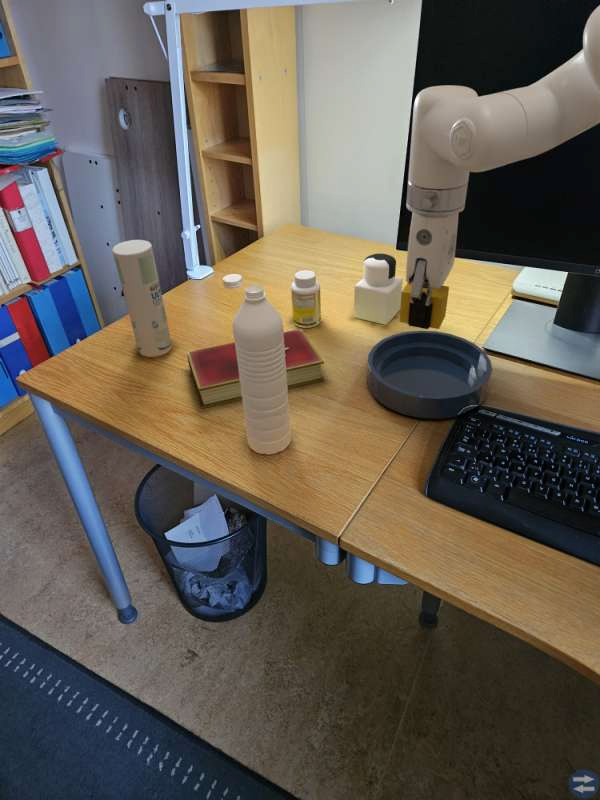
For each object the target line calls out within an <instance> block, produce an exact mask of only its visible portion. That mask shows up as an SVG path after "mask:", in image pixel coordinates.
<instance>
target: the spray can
mask: <svg viewBox="0 0 600 800" xmlns="http://www.w3.org/2000/svg"><path fill="white" fill-rule="evenodd" d="M111 249H112V250H111V251H112V256H113V259H114V263H115V267H116V270H117V271H116V272H117V274H118V278H119V282H120V286H121V290H122V293H123V297H124V301H125V304H126V309H127V312H128V316H129V319H130V323H131V328H132V332H133V335H134V339H135V343H136V346H137V350H138V352H139V354H140V355H141V356H143V357H146V358H156V357H161V356H163V355H165V354H168V352H170V351H171V350H172V346H173V343H172V339H171V338H172V337H171V334H170V329H169V324H168V319H167V313H166V310H165V305H164V299H163V294H162V289H161V284H160V280H159V275H158V270H157V265H156V260H155V255H154V250H153V245H152V243H151V242H150V241H148V240H145V239H131V240H125V241H122V242H119V243H118V244H116V245H114V246H113V248H111Z"/></svg>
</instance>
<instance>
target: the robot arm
mask: <svg viewBox="0 0 600 800" xmlns="http://www.w3.org/2000/svg"><path fill="white" fill-rule="evenodd" d="M582 33H583V34H582V49H581V50H580V51H579V52H578V53H576V54H575V55H574V56H572V58H570V59H569V60H567V61H566V62H565V63H564V62H563V64H562V65H560V66H558V67H557V68H556V69H554V70H552V71H551V72H550V73H548V74H547V75H545V76H543V77H542V78H540V79H539V80H537V81H536V82H534V83H532V84H530V85H528V86H523V87H518V88H512V89H508V90H504V91H499V92H495V93H490V94H486V95H481V96H479V95H478V93H477V92H476V90H474V89H473V88H471V87H468V86H464V85H453V84H452V85H449V84H447V85H435V86H429V87H426V88H424V89H422V90H420V91H419V92H418V93H417V95H416V97H415V99H414V103H413V109H412V110H413V111H412V125H411V126H412V127H411V137H410V151H409V165H408V177H407V178H408V179H407V191H406V202H405V203H406V204H405V207H406V209H407V210H408V211H409V212H411V213H412V214H411V220H410V227H409V235H408V243H407V254H406V265H405V282H406V284H407V283H408V284H409V285H410V284H411V283H412V282H413V283H412V289H411V294H410V306H409V317H408V323H407V325H408V326H409V327H412V328H417V329H418V328H419V329H424V330H429V329H430V324H431V316H432V307H433V303H431V298H432V291H433V287H435V289H439V288H440V287H441V286H444V284H445V282H446V280H447V279H448V276H449V275H450V273H451V271H452V268H453V267H454V265H455V259H456V248H457V237H458V226H459V213H462V212H463V211H464V210H465V207H466V200H467V192H468V185H469V179H470V178H469V177H470V173H482V172H486V171H490V170H494V169H497V168H500V167H504V166H506V165H509V164H513V163H516V162H518V161H519V162H520V161H522V160H526V159H530V158H534V157H536V156H539V155H542V154H544V153H546V152H548V151H550V150H552V149H554V148H555V147H558V146H559V145H562V144H564V143H565V142H567V141H569V140H571V139H572V138H574V137H577V136H578V135H580V134H582V133H584V132H586V131H587V130H589V129H591V128H593V127H595V126H597V125H598V124H600V5H598V6H596V8H595V9H594V10H593V11H592V12H591V14H590V15H589V17H588V19H587V20H586V23H585V26H584V29H583V32H582ZM423 288H427V295H426V292H423V290H422V289H423Z"/></svg>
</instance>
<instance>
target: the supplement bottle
mask: <svg viewBox="0 0 600 800" xmlns="http://www.w3.org/2000/svg"><path fill="white" fill-rule="evenodd" d="M316 276H317V275H316V272H314V271H312V270H309V269H308V270H307V269H305V270H299V271H296V272H295V273H294V281H293V282H292V284H291V285H290V290H291V291H290V292H291V293H290V294H291V306H292V307H291V309H292V321H293V323H294V325H295V326H296V327H299V328H301V329H302V328H303V329H309V328H314V327H316V326H318V325H319V324H320V323H321V321H322V309H321V308H322V306H321V304H322V303H321V301H322V300H321V284H320V283H319V281H317V277H316Z"/></svg>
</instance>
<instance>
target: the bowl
mask: <svg viewBox="0 0 600 800" xmlns="http://www.w3.org/2000/svg"><path fill="white" fill-rule="evenodd" d="M366 364H367V365H366V366H367V367H366V385H367V387H368V390H369V392H370V393H371V394H372V396H373V397H374V398H375V399H376V401H378V402H380V403H381V404H382V405H384V407H386V408H388V409H389V410H393V411H395V412H397V413H398V414H399V413H400V414H402V415H406V416H410V417H414V418H419V419H433V420H439V419H440V420H441V419H448V418H449V419H450V418H451V419H452V418H455V417H458V413H459V412H460V411H461V410H462V409H463V408H465V407H467V406H470V405H479V406H480V405H481V404H482V403H483V402H484V401H485V400H486V399H487V395H488V392H489V388H490V384H491V379H492V375H493V365H492V361H491V359H490V357H489V356H488V354H487V353H486V352H485V351H484V350H483V349H482V348H481V347H480V346H478V345H477V344H475V343H474V342H472V341H470V340H468V339H466V338H464V337H461V336H458V335H455V334H452V333H448V332H443V331H436V330H411V331H403V332H400V333H395V334H391V335H389V336H387V337H385V338H383V339H381V340H380V341H378V342H377V343H376V344H374V345H373V347H372V348H371V350H370V351H369V353H368V356H367V363H366Z"/></svg>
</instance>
